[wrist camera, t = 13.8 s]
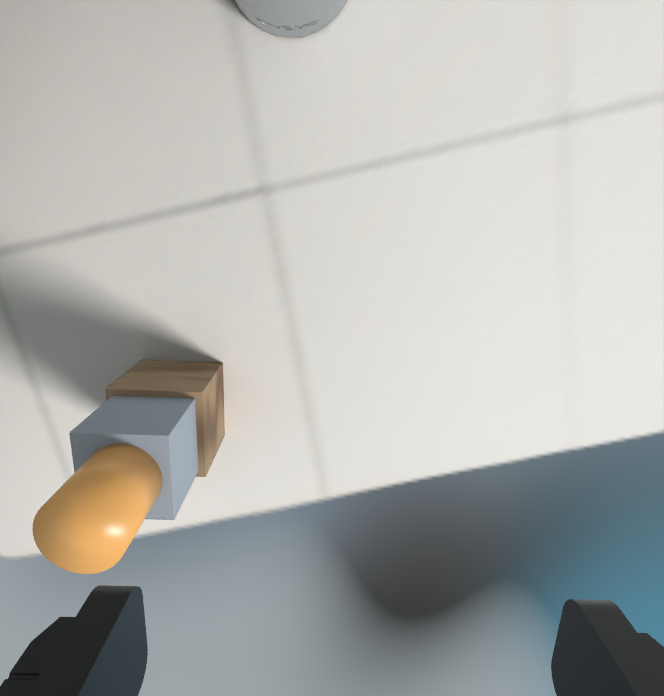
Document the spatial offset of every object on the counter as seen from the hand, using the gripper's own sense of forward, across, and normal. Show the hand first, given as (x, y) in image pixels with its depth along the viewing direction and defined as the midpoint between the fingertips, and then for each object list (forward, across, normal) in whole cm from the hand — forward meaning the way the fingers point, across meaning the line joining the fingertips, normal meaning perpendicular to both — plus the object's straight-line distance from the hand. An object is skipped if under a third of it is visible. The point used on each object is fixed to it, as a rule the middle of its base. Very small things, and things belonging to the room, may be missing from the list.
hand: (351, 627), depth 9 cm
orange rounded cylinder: (+19, +13, +9) cm, 25 cm away
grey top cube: (+25, +13, +9) cm, 30 cm away
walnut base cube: (+32, +13, +9) cm, 36 cm away
